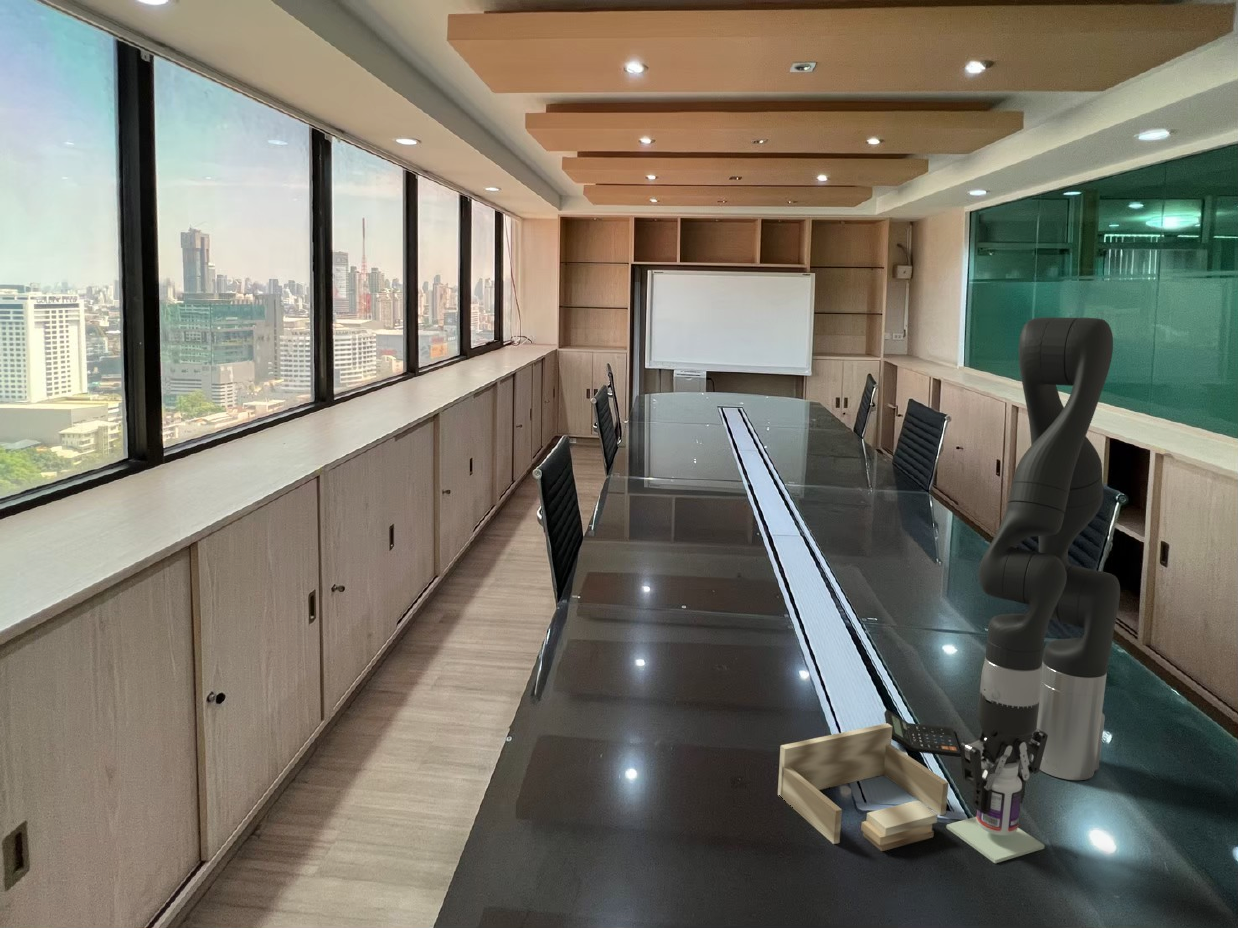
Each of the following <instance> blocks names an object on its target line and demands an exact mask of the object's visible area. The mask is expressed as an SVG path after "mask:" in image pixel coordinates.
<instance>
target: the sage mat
mask: <svg viewBox="0 0 1238 928" xmlns="http://www.w3.org/2000/svg"><path fill="white" fill-rule="evenodd" d="M945 828H946V829H947V830H948V831H949V832H951V833H952V834H954V835H955V836H957V837H958V838H960V839H961V840H962V841H964V842H965V843H966V844H968V845H969V846H970V847H971V848H973V849H974V850H975V851H978V852H979V853H980V854H981V855H983V856H984V857H985V858H987V859H988V860H989V861H991V862H992V863H994V864H997V863H1002V862H1004V861H1008V860H1011V859H1015V858H1018V857H1021V856H1025V855H1027V854H1030V853H1034V852H1037V851H1041V850H1044V849H1045V844H1043V842H1041V841H1039V840H1037V839H1036V838H1034V837H1033V836H1032V835H1030V834H1029V833H1027V832H1025V831H1024V830H1023V829H1021V828H1019V827H1018V829H1017V831H1016V832H1015V833H1014V834H1011V835H996V834H992V833H990V832H987V831H986V830H984V829H983V828H981V827H980V826H979V825H978V823H977V815H976V816H973V817H970V818H967V819H966V818H965V819H963V820H959V821H956V822H955V821H954V822H952V823H948V824H946V827H945Z"/></svg>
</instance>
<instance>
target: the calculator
mask: <svg viewBox="0 0 1238 928" xmlns="http://www.w3.org/2000/svg"><path fill="white" fill-rule="evenodd" d="M883 714H884V718H885V719H884V720H885V724H886V723H888V724H889V725H891V726H892V738H891V741H894V742H895V743H897V744H898V745H900V746H901V747H903V748H905V749H907V750H909V751H910V752H916V753H917V752H918V753H926V754H934V755H935V754H936V755H945V756H954V757H961V748H960V746H959V743H958V740H957V737H956V734H955V732H954V728H953V727H946V726H938V725H928V724H918V723H910V722H907V721H906V720H904V719H903V718H901V717H900V716H898V715H896V714H895V713H893V712H892V711H890V710H889V709H886V710H885V711H884V713H883Z"/></svg>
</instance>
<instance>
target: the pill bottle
mask: <svg viewBox="0 0 1238 928" xmlns="http://www.w3.org/2000/svg"><path fill="white" fill-rule="evenodd" d="M986 762H987V763H988V764H990V765H991V766H994V763H992V762H991V761H989V760H988V759H987V758H986ZM987 773H988V772H987V771H986V770H985V771H984V773H983V776H982V777H983V778H986V776H987ZM1017 774H1018V762H1015V763H1007V764H1006V765H1004V767H1003V769H1002V772H1001V774H1000V775H999V776H996V777H995V780H994V782H993V785H992V787H991V789H992V797H991V807H990V812H989V813H987V814H983V813H982V812H980V811H979V810H977V809H976V816H977V823H978V825H979V826H980V827H981V828H983V829H984V830H986V831H987V832H990V833H992V834H996V835H1011V834H1014V833H1015V832H1016V831H1017V829H1018V828H1019V819H1020V811H1021V810H1020V809H1021V804H1020V801H1021V791H1022V782H1021V780H1020V778H1019V777H1018V776H1017Z"/></svg>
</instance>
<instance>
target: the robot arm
mask: <svg viewBox="0 0 1238 928" xmlns="http://www.w3.org/2000/svg"><path fill="white" fill-rule="evenodd" d="M1018 343H1019V344H1018V362H1019V363H1018V365H1019V371H1020V376H1021V378H1020V379H1021V384H1022V389H1023V395H1024V400H1025V404H1026V405H1025V406H1026V411H1027V417H1028V423H1029V433H1030V434H1029V435H1030V444H1031V445H1030V446H1029V448H1028V449H1027V450H1026V452H1025V453H1024V454H1023V456H1022V457H1021V458H1020V460H1019V462H1018V464H1017V466H1016V469H1015V470H1014V474H1013V475H1014V476H1013V479H1012V483H1011V489H1010V492H1009V496H1008V497H1009V498H1008V503H1007V506H1006V511H1005V514H1004V517H1003V519H1002V521H1001V523H1000V526H999V527H998V529H997V532H996V534H995V535H994V537H993V539H992V541H991V543H990V544H989V546H988V548H987V549H986V551H985V553H984V555H983V557H982V559H981V561H980V563H979V567H978V574H977V575H978V576H977V577H978V583H979V584H980V585H979V586H980V587H981V589H982V591H983V592H984V593H985V594H987V595H988V596H991V597H993V598H998V599H1002V600H1007V601H1011V602H1016V603H1020V604H1026V605H1030V606H1029V607H1030V608H1029V611H1028V612H1027V613H1003V614H998V615H994V616H993V617H992V618H991V619H990V621H989V623H988V627H987V636H986V645H985V654H984V655H985V656H984V662H983V665H982V670H981V677H980V687H979V696H978V697H979V698H978V705H977V706H978V707H977V708H978V709H977V719H978V722H979V723H980V724H979V725H980V728H981V729H980V732H979V735H978V737H977V740H976V741H973V742H972V743H969V742H967V741H963V742H961V744H960V746H959V749H960V752H961V756H960V760H961V773H962V775H961V776H962V780H964V781H965V782H967V783H968V784H970V785H971V786H973V787H974V789H973V799H972V804H973V806H974V809H976V811H977V810H979V811H980V812H982V813H983V814H987V813H989V812H990V807H991V797H992V789H991V787H992V785H993V782H994V780H995V777H996V776H999V775H1000V774H1001V772H1002V769H1003V767H1004V765H1006V764H1007V763H1015V762H1018V774H1017V776H1018V777H1019V778H1020V780H1021V782H1022V791H1021V801H1020V805H1021V804H1023V800H1024V798H1025V794H1026V793H1025V791H1026V783H1027V782H1026V781H1027V780H1029V778H1030V775H1031V774H1038V773H1039V771H1041V772H1043V773H1045V774H1047V775H1050V776H1052V777H1055V778H1059V779H1063V780H1068V781H1083V780H1089V779H1091V778H1093V776H1094V775H1095V772H1096V771H1098V770H1099V769H1100V768H1099V766H1100V760H1101V751H1102V743H1103V735H1104V729H1105V728H1104V726H1105V719H1106V716H1105V714H1104V713H1103V708H1104V698H1105V689H1106V683H1107V682H1106V681H1107V674H1108V673H1107V672H1108V666H1109V661H1110V655H1111V651H1112V645H1113V638H1114V632H1115V625H1116V621H1117V617H1118V616H1117V615H1118V611H1119V608H1120V607H1119V606H1120V599H1121V585H1120V581H1119V579H1118V578H1117V576H1116V575H1114V574H1112V573H1110V572H1105V571H1103V570H1102V571H1100V570H1096V569H1092V568H1087V567H1084V566H1083V567H1082V566H1078V565H1074V564H1071V563H1070V561H1069V558H1068V557H1069V555H1068V552H1069V549H1070V547H1071V545H1072V544H1073V542H1074V541H1075V539H1076V538H1077V537H1078V536H1079V535H1080V534H1081V532H1082V531H1083V530H1084V529H1085V528H1086V527H1087V526H1088V525H1089V524H1090V523H1091V522H1092V521H1093V519H1094V518H1095V517H1096V515H1097V514H1098V512H1099V511H1100V509H1101V506H1102V504H1103V500H1104V481H1103V479H1104V477H1103V464H1102V459H1101V457H1100V455H1099V452H1098V451H1097V449H1096V447H1095V446H1094V445H1093V444H1092V442H1091V441H1090V439H1089V438H1088V437H1087V434H1088V431H1089V428H1090V426H1091V423H1092V421H1093V418H1094V415H1095V412H1096V410H1097V407H1098V403H1099V401H1100V397H1101V395H1102V392H1103V389H1104V386H1105V383H1106V381H1107V378H1108V374H1109V370H1110V366H1111V363H1112V357H1113V354H1114V353H1113V350H1114V337H1113V331H1112V329H1111V325H1110V324H1109V323H1108V322H1107V321H1106V320H1104V319H1102V318H1098V317H1097V318H1096V317H1055V316H1054V317H1051V316H1050V317H1036V318H1032V319H1031V318H1030V320H1028V321H1027V322H1025V324H1024V326H1023V327H1022V329H1021V333H1020V337H1019V342H1018ZM1058 386H1070V387H1071V386H1072V388H1071V392H1070V395H1069V397H1068V399H1067V402H1066V403H1065V406H1064V405H1063V403H1062V399H1061V396H1060V394H1059V391H1058ZM1031 537H1038V551H1034V550H1028V549H1023V548H1017V547H1018V546H1020V543H1022V542H1023V541H1024V540H1025V539H1027V538H1031ZM1051 620H1053V621H1055V622H1059V623H1063V624H1066V625H1070V626H1073V627H1077V628H1078V627H1079V628H1082V629H1084V633H1083V636H1081V637H1076V638H1075V637H1073V638H1061V639H1054V640H1051V641H1049V642H1047V643H1046V644H1045V639H1046V635H1047V630H1048V627H1049V623H1050V621H1051ZM1044 645H1045V646H1044ZM1030 757H1031V760H1030ZM987 759H988V760H989V761H991V762H992V763H994V766H991V765H990V764H988V763H987ZM985 770H986V771H987V772H988V773H987V776H986V778H983V777H982V776H983V773H984V771H985Z"/></svg>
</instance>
